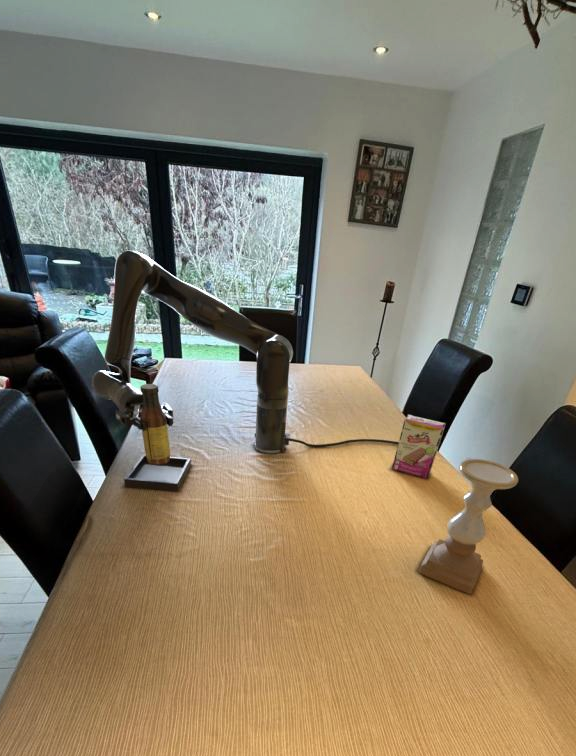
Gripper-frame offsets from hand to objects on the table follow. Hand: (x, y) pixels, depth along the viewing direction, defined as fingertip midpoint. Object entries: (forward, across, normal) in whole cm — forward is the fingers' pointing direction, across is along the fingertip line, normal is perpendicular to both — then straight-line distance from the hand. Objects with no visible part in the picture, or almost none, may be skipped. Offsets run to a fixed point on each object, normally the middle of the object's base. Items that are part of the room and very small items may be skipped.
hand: (158, 424), depth 102 cm
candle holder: (+66, +36, +15) cm, 76 cm away
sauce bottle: (-2, 0, +11) cm, 11 cm away
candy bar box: (+32, +66, +15) cm, 74 cm away
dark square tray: (-2, 0, +16) cm, 16 cm away
